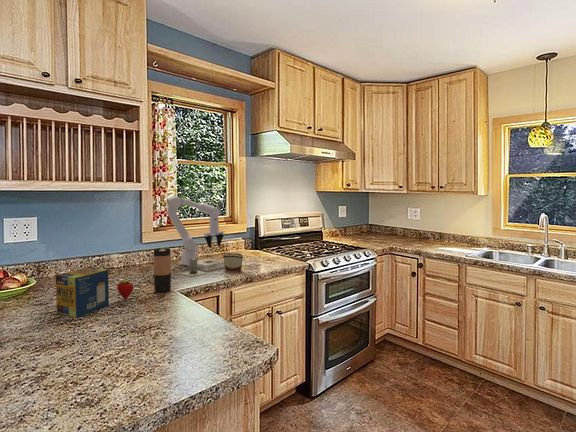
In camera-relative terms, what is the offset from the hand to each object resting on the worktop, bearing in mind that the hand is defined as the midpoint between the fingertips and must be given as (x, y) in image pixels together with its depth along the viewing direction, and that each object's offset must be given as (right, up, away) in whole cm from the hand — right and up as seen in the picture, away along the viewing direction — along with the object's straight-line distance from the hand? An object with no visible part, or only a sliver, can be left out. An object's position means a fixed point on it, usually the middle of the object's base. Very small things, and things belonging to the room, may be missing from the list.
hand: (214, 246), depth 229 cm
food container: (+16, -13, -20) cm, 29 cm away
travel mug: (-11, -16, -62) cm, 65 cm away
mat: (-6, -13, -29) cm, 32 cm away
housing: (0, -12, -14) cm, 18 cm away
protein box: (-34, -18, -88) cm, 96 cm away
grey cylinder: (-6, -13, -29) cm, 32 cm away
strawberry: (-23, -17, -75) cm, 80 cm away
